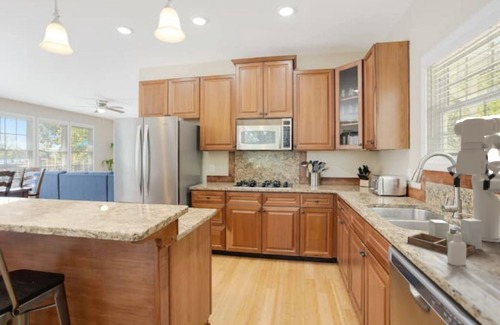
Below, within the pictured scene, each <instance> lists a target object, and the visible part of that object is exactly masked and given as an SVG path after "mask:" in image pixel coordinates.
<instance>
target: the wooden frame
mask: <svg viewBox="0 0 500 325" xmlns="http://www.w3.org/2000/svg"><path fill="white" fill-rule="evenodd" d="M407 243H409V244H413V245H414V246H415V245H416V246H419V247H423V248H427V249H429V250H432V251H436V252H440V253H444V254H447V255H448V247H447V238H441V237H437V236H433V235H430V234H429V233H424V232H419V233H416V234H412V235H409V236H407ZM474 253H476V249H475V246H473V245H469V244H466V257H468V256H470V255H472V254H474Z"/></svg>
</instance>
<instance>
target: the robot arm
mask: <svg viewBox="0 0 500 325" xmlns="http://www.w3.org/2000/svg"><path fill="white" fill-rule="evenodd" d="M453 132H454V134H455V136H457V137H459V138H460V150H458V153H457V157H456V160H455V161H456V163H455V164H453V165H451V166H450V165H449V166H448V167H447V168H446V170H447V171H448V173H449V175H450V176H451V177H452V178H453V186H454V188H460V187H461V176H462V175H467V176H469V175H471V180H470V181H471V186H472V195H473V196H472V199H473V200H472V201H473V205H472V218H473V219H477V220H481V221H482V242H486V243H487V242H488V243H500V199H499V197H498V196H497V195H496V194H495V193H497V194H499V193H500V114H496V115H490V116H489V115H487V116H482V117H480V116H479V117H478V116H477V117H476V116H475V117H466V118H463V119H460V120H457V121H456V122H455V124H454V126H453ZM453 169H455V171H454V170H453Z"/></svg>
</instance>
